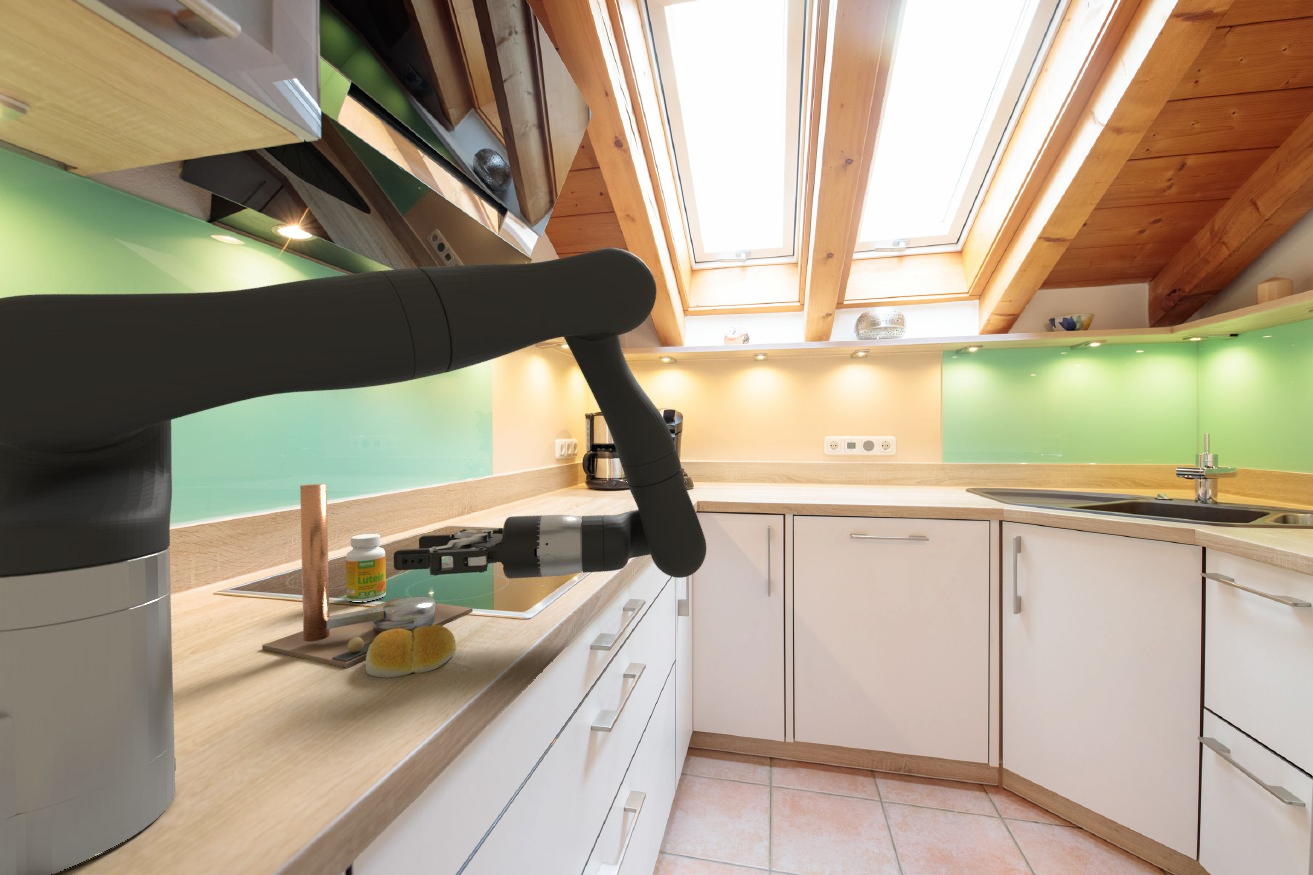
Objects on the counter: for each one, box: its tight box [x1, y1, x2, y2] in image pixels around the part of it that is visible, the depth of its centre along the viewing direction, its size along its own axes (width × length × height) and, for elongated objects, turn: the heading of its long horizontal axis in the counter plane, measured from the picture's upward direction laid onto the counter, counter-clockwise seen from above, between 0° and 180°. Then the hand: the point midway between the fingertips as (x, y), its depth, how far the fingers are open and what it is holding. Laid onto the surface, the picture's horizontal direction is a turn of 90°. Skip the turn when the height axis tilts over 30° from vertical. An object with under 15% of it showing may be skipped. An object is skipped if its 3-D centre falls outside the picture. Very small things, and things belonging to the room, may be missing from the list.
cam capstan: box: [299, 483, 436, 642], centre depth 64 cm, size 14×6×18 cm, turn 122°
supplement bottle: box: [345, 533, 387, 602], centre depth 81 cm, size 5×5×10 cm
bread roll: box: [365, 625, 457, 678], centre depth 58 cm, size 8×9×4 cm
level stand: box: [261, 597, 473, 669], centre depth 67 cm, size 19×14×2 cm
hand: (408, 551), depth 63 cm, fingers open, 8 cm apart
